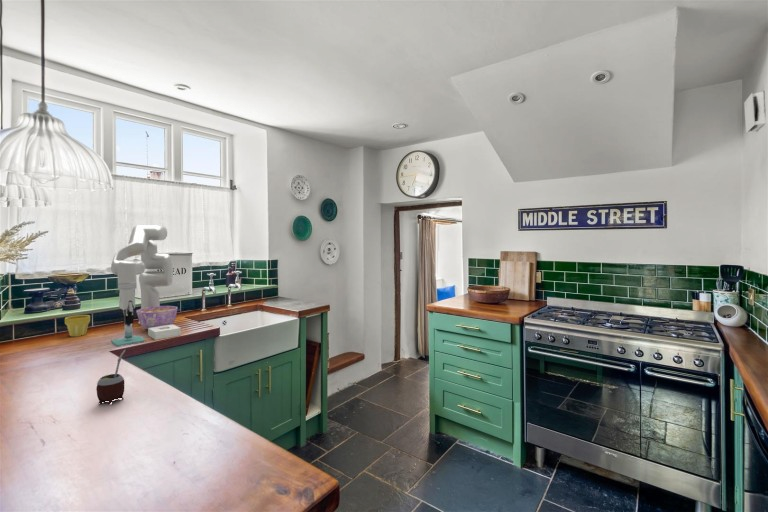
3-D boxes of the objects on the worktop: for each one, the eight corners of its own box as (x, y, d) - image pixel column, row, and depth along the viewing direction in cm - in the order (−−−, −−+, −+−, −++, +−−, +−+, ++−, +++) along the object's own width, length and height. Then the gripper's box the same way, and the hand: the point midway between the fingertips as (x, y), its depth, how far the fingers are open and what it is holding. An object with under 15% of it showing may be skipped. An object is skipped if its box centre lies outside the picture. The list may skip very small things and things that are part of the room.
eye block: (148, 335, 192) (148, 328, 191) (173, 331, 201) (172, 324, 200) (155, 339, 184) (155, 332, 183) (180, 335, 192) (180, 328, 192)
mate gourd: (95, 408, 109) (94, 360, 108) (98, 399, 116) (97, 353, 115) (126, 402, 113) (124, 355, 113) (127, 393, 120) (125, 349, 119)
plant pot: (91, 331, 199) (91, 314, 199) (89, 335, 190) (88, 317, 190) (67, 334, 193) (66, 316, 193) (63, 338, 185) (62, 319, 184)
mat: (111, 341, 180) (111, 340, 180) (139, 337, 189) (139, 335, 189) (117, 346, 172) (116, 344, 172) (146, 341, 181) (146, 339, 181)
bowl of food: (146, 335, 192) (146, 314, 191) (130, 330, 203) (129, 309, 202) (184, 328, 208) (184, 308, 208) (167, 323, 219) (167, 304, 219)
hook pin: (124, 337, 180) (123, 312, 180) (131, 336, 182) (131, 311, 182) (125, 339, 178) (125, 312, 177) (133, 337, 180) (132, 312, 180)
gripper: (114, 285, 182) (115, 321, 183) (122, 288, 171) (123, 326, 172) (131, 284, 187) (132, 319, 188) (141, 287, 176) (141, 324, 177)
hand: (128, 322), depth 180 cm, fingers closed on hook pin, 3 cm apart
